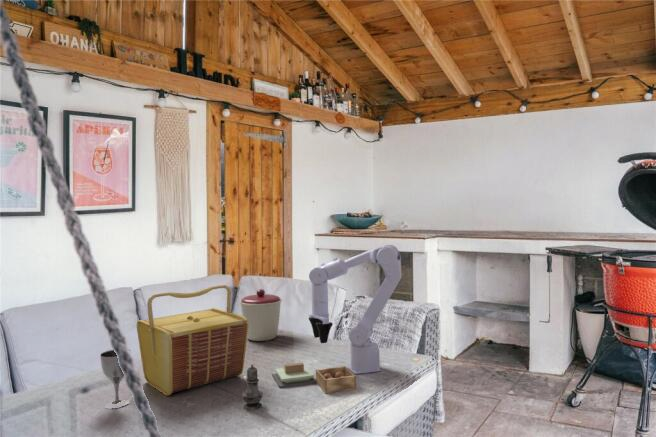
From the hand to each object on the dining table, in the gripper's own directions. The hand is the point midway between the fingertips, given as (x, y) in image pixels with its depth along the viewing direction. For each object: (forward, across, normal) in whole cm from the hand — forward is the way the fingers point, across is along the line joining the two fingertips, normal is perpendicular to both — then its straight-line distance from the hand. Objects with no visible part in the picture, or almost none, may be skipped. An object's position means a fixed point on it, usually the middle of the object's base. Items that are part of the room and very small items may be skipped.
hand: (320, 340), depth 174 cm
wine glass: (+10, +11, -65) cm, 67 cm away
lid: (+8, +9, -12) cm, 17 cm away
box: (+9, +19, -1) cm, 21 cm away
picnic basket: (+10, -2, -43) cm, 44 cm away
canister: (+10, -45, -13) cm, 48 cm away
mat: (+9, +9, -12) cm, 18 cm away
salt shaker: (+10, +26, -28) cm, 39 cm away
